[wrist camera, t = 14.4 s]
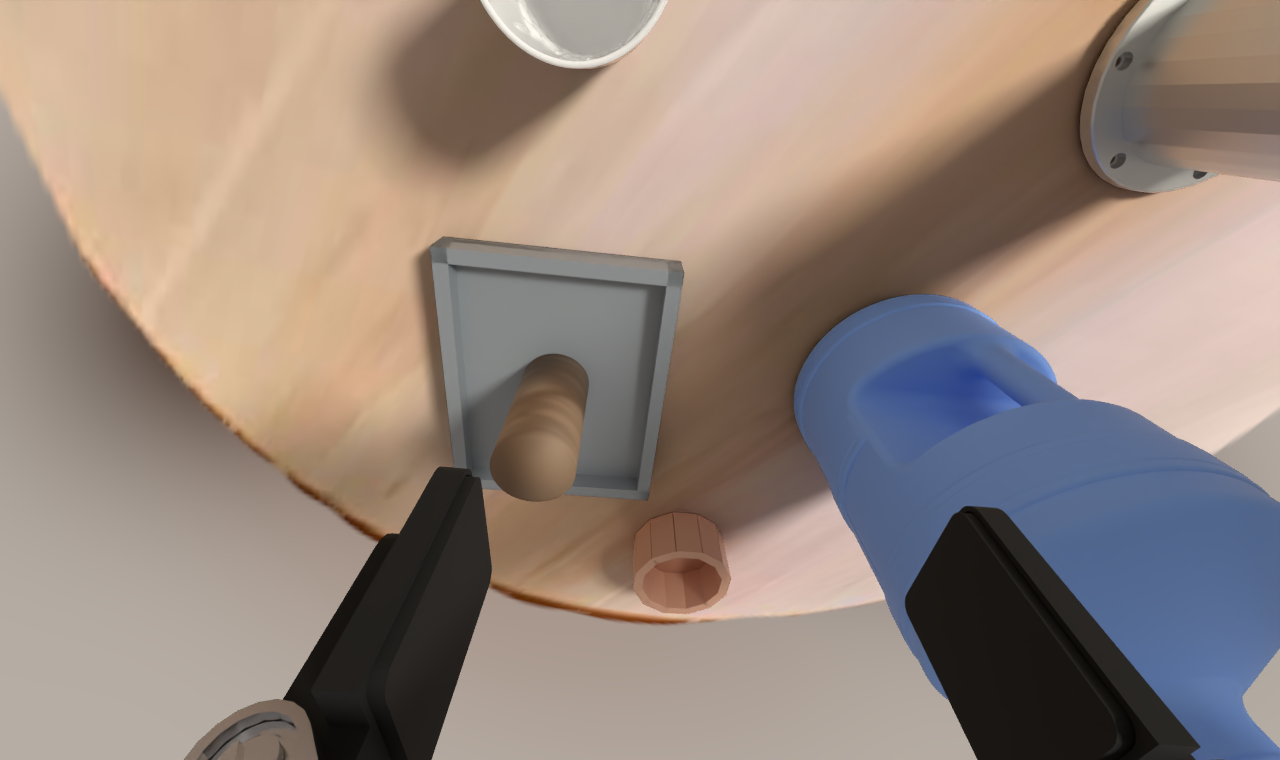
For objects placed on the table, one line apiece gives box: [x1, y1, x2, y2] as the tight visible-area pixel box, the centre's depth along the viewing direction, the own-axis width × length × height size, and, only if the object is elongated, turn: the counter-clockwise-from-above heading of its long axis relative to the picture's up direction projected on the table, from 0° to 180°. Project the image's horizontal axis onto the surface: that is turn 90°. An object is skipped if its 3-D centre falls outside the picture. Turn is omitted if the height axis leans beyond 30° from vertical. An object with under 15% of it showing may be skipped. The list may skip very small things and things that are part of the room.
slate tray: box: [430, 237, 684, 500], centre depth 37 cm, size 16×20×2 cm
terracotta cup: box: [633, 512, 731, 614], centre depth 46 cm, size 9×9×4 cm
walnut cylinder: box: [490, 354, 589, 502], centre depth 33 cm, size 5×5×10 cm
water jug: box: [794, 294, 1280, 760], centre depth 26 cm, size 16×16×28 cm
